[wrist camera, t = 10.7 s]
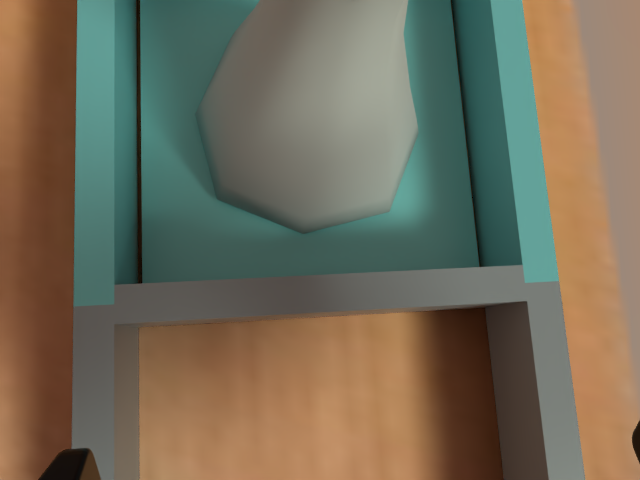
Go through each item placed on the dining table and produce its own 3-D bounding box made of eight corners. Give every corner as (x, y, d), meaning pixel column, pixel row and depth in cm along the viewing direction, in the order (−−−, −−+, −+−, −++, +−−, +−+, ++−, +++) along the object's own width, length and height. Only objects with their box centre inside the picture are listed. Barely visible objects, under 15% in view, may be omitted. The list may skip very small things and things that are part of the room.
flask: (414, 243, 18) (590, 130, 9) (185, 227, 18) (97, 86, 8) (418, 36, 20) (574, -263, 10) (205, 15, 19) (149, -331, 9)
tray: (562, 717, 17) (627, 795, 14) (102, 782, 15) (65, 887, 12) (472, -50, 21) (507, -113, 18) (105, -56, 20) (79, -126, 17)
